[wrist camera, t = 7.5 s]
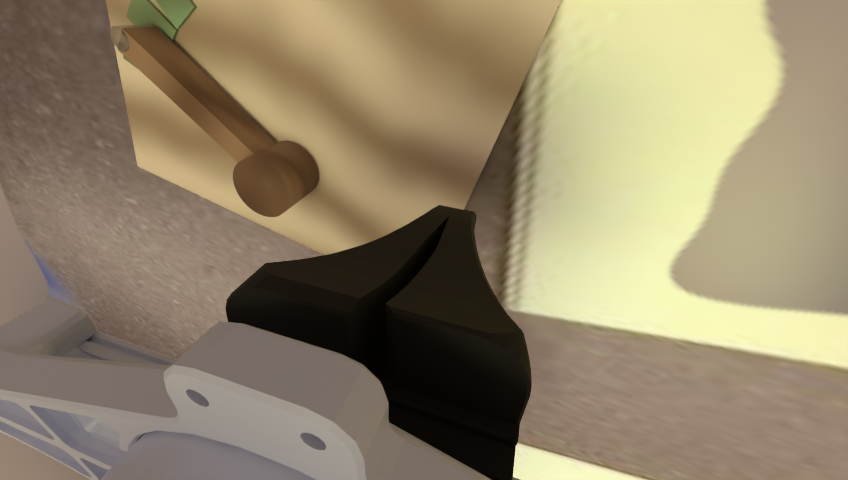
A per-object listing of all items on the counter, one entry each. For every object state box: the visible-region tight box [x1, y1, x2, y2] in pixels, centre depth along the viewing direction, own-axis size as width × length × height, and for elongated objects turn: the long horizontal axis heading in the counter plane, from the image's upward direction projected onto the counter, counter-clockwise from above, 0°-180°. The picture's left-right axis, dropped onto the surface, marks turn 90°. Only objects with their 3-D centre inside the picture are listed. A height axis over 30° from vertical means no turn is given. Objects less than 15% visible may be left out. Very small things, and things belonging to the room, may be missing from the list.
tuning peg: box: [110, 24, 318, 217], centre depth 21 cm, size 13×4×3 cm, turn 46°
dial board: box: [106, 0, 561, 255], centre depth 21 cm, size 22×24×1 cm
